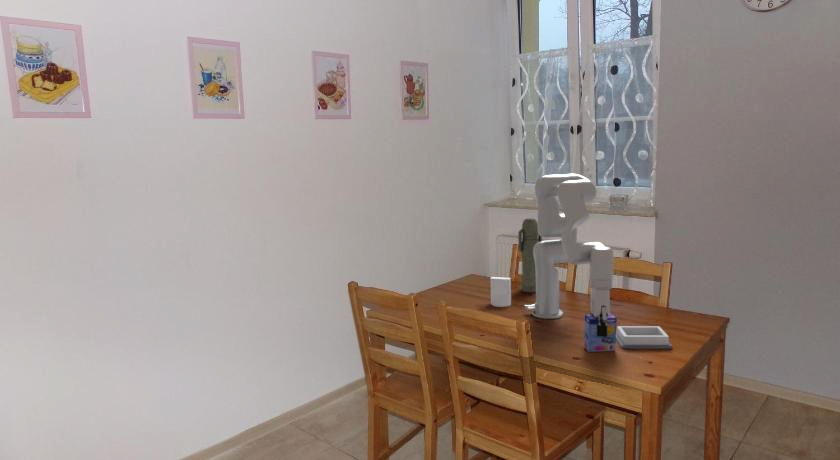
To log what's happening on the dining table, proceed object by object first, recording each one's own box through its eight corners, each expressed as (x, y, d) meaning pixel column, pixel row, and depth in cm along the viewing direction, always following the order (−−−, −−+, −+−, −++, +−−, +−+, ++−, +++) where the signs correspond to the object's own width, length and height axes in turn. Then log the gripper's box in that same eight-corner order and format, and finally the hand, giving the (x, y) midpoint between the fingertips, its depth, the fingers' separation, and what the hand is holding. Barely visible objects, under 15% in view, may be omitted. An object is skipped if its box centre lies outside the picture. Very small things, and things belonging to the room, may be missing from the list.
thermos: (546, 290, 277) (545, 219, 271) (526, 293, 272) (525, 221, 266) (535, 286, 285) (534, 217, 279) (515, 289, 280) (514, 219, 274)
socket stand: (621, 348, 199) (621, 337, 199) (613, 335, 212) (613, 325, 211) (672, 348, 197) (672, 337, 197) (661, 335, 210) (661, 325, 209)
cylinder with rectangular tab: (488, 306, 255) (488, 280, 253) (493, 300, 263) (493, 275, 261) (508, 307, 252) (508, 281, 250) (513, 301, 260) (512, 276, 258)
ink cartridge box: (588, 352, 196) (589, 312, 194) (583, 346, 201) (583, 307, 199) (616, 350, 197) (617, 310, 194) (610, 345, 202) (611, 305, 200)
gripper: (585, 276, 204) (584, 324, 207) (594, 289, 187) (593, 341, 190) (607, 276, 203) (606, 324, 206) (618, 289, 186) (616, 341, 189)
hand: (600, 332), depth 198 cm, fingers closed on ink cartridge box, 5 cm apart
